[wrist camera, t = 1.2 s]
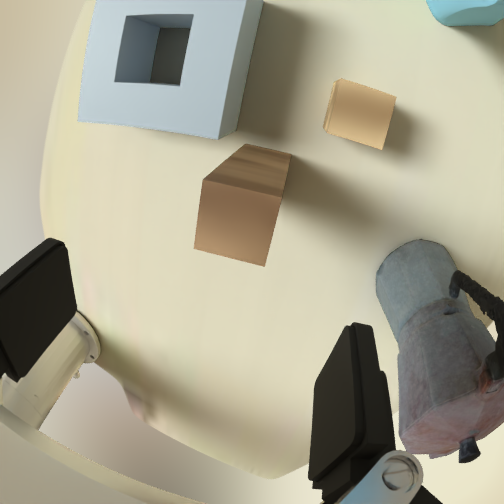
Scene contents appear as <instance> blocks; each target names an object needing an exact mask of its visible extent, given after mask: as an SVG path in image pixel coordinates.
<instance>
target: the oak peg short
mask: <svg viewBox="0 0 504 504" xmlns="http://www.w3.org/2000/svg"><path fill="white" fill-rule="evenodd" d="M395 101H396V97H395V96H392V95H390V94H387V93H384V92H381V91H379V90H376V89H373V88H370V87H367V86H364V85H361V84H358V83H354V82H351V81H348V80H345V79H339V80H337V81H335V82H334V84H333V88H332V92H331V96H330V100H329V105H328V109H327V113H326V117H325V121H324V125H323V128H324V129H325V130H326V132H327V133H329V134H333V135H336V136H339V137H343V138H346V139H349V140H353V141H356V142H359V143H362V144H365V145H368V146H371V147H374V148H377V149H380V150H382V148H383V145H384V142H385V138H386V135H387V131H388V127H389V124H390V120H391V116H392V113H393V109H394V105H395Z"/></svg>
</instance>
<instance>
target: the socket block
mask: <svg viewBox="0 0 504 504" xmlns="http://www.w3.org/2000/svg"><path fill="white" fill-rule="evenodd" d="M263 3H264V1H263V0H96V4H95V8H94V12H93V17H92V21H91V26H90V31H89V36H88V41H87V47H86V53H85V59H84V66H83V73H82V81H81V90H80V99H79V111H78V122H89V123H101V124H112V125H121V126H130V127H139V128H147V129H154V130H161V131H168V132H175V133H181V134H188V135H194V136H199V137H205V138H211V139H216V140H218V139H220V138H222V137H224V136H226V135H228V134H230V133H232V132H234V131H236V129H237V124H238V119H239V113H240V108H241V103H242V98H243V93H244V89H245V84H246V79H247V74H248V69H249V65H250V60H251V55H252V51H253V46H254V42H255V37H256V33H257V28H258V24H259V20H260V15H261V11H262V7H263ZM160 28H191V31H190V35H189V40H188V45H187V50H186V55H185V60H184V65H183V71H182V76H181V82H180V85H178V84H167V83H154V82H150V79H151V73H152V67H153V61H154V56H155V51H156V45H157V40H158V35H159V31H160Z"/></svg>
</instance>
